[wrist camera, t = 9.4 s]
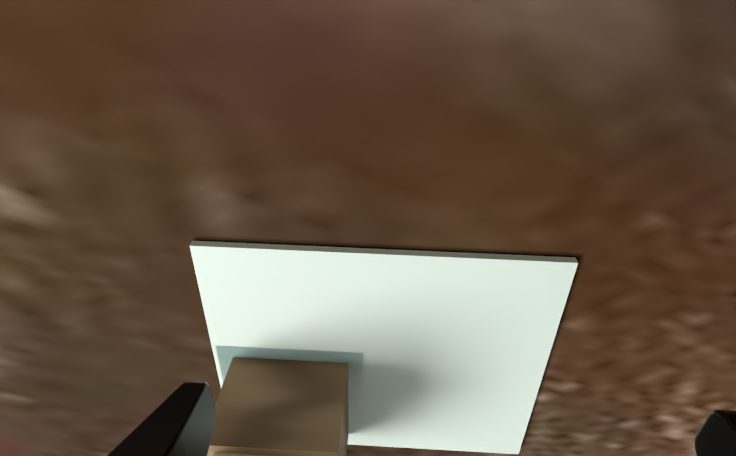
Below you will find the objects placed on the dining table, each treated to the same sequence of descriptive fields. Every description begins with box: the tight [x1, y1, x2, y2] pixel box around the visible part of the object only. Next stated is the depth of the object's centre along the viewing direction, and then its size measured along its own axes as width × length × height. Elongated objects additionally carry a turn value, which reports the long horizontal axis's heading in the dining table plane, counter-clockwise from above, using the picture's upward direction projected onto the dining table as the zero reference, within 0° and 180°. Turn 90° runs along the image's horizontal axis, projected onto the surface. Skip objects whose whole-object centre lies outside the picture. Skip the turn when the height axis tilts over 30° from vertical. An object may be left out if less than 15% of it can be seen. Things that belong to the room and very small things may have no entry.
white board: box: [190, 241, 578, 454], centre depth 25 cm, size 17×14×1 cm
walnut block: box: [207, 357, 348, 456], centre depth 25 cm, size 6×6×5 cm
